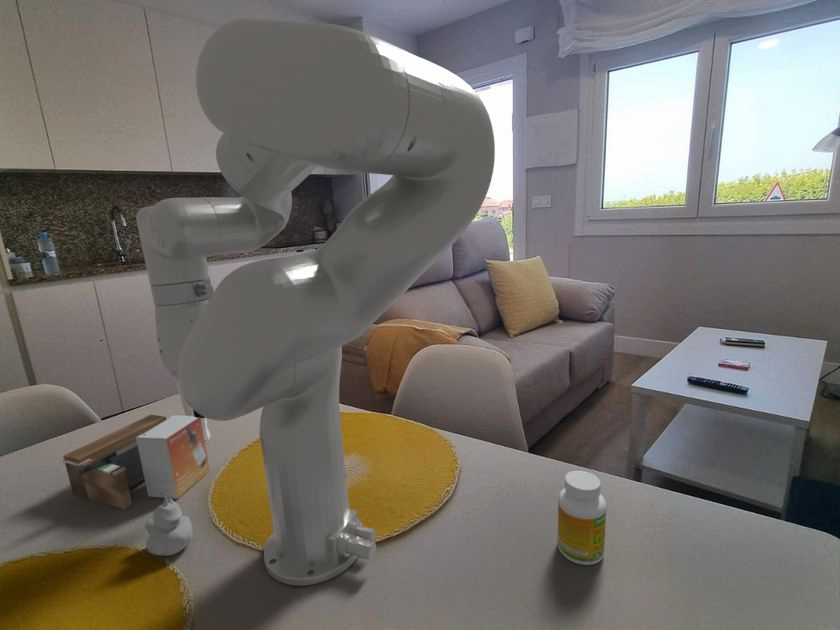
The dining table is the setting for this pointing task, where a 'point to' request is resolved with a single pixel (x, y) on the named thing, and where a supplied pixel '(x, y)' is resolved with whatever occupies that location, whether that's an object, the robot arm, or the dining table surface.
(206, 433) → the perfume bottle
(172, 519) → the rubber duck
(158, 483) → the small box
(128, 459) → the pad
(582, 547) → the supplement bottle
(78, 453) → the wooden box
